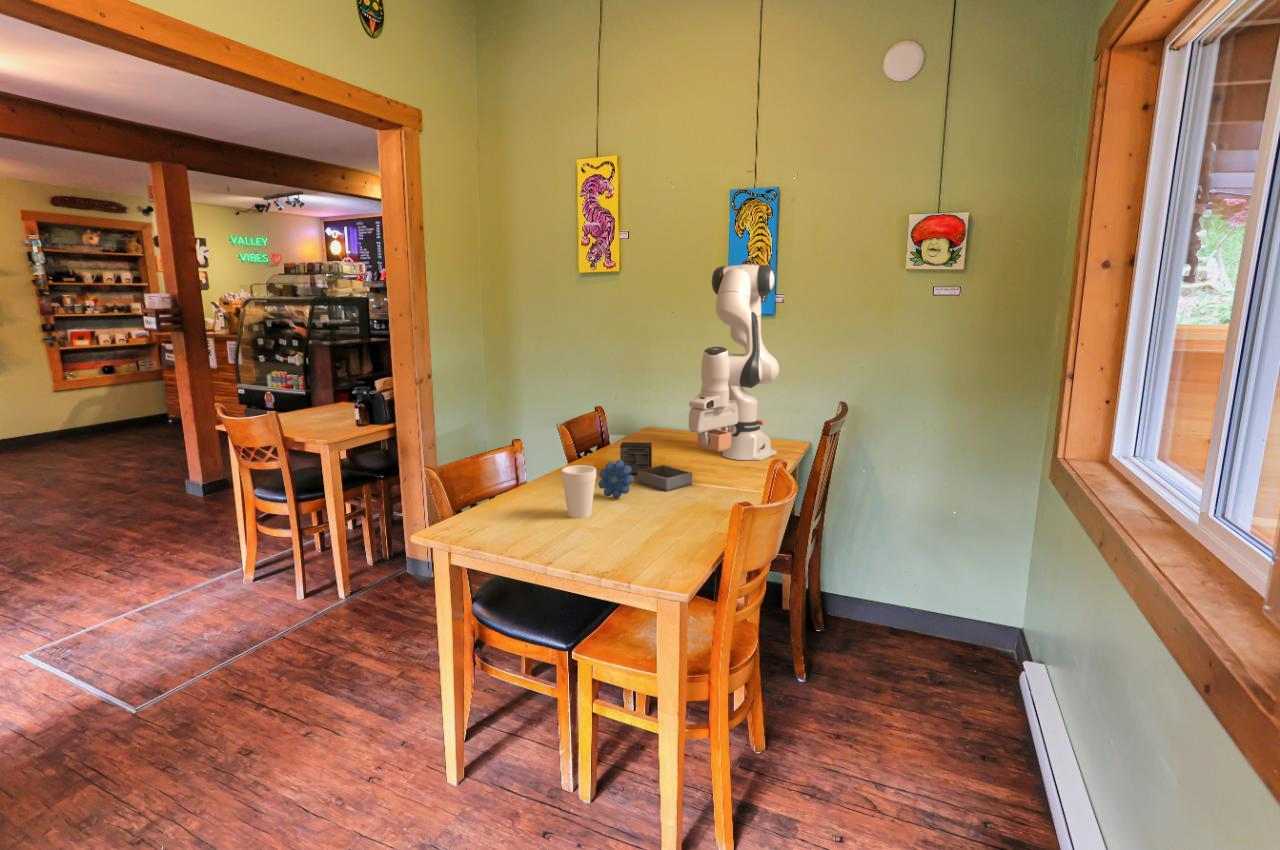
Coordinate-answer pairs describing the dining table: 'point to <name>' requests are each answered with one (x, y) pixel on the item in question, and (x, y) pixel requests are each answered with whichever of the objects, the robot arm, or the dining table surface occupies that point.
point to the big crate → (664, 477)
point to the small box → (636, 455)
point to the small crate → (716, 440)
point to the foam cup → (579, 489)
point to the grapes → (615, 479)
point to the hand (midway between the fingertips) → (714, 442)
